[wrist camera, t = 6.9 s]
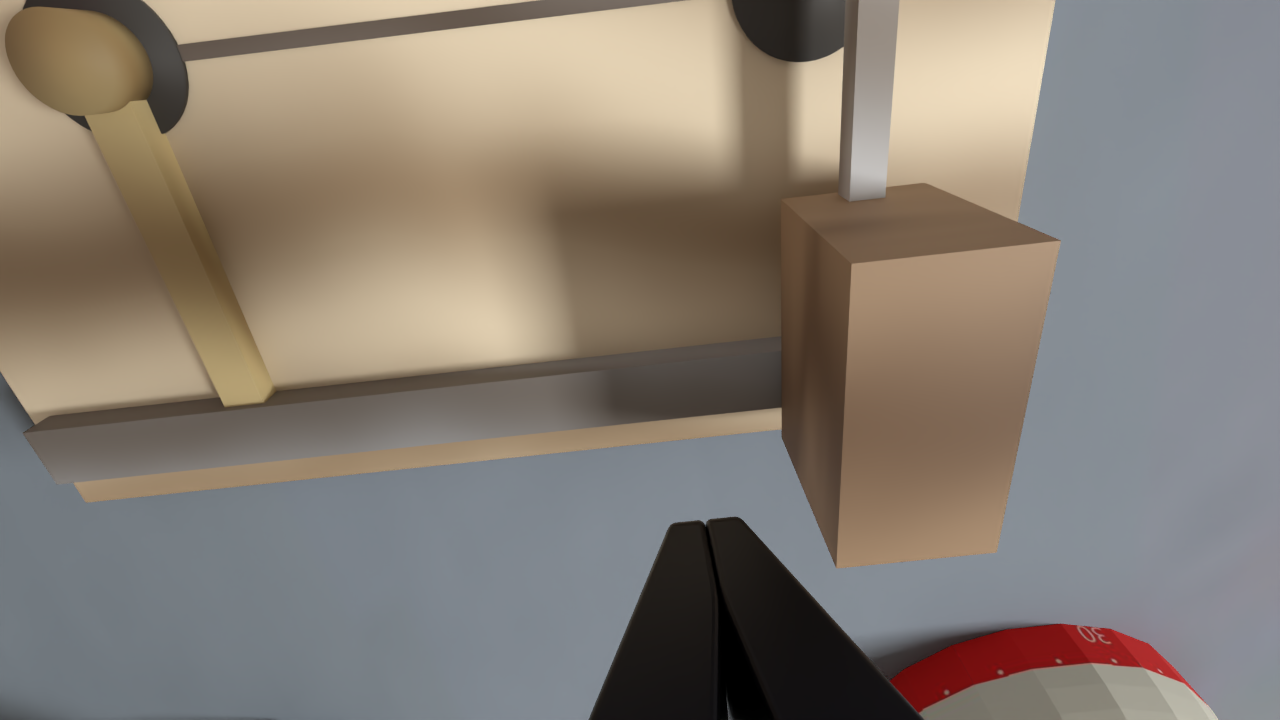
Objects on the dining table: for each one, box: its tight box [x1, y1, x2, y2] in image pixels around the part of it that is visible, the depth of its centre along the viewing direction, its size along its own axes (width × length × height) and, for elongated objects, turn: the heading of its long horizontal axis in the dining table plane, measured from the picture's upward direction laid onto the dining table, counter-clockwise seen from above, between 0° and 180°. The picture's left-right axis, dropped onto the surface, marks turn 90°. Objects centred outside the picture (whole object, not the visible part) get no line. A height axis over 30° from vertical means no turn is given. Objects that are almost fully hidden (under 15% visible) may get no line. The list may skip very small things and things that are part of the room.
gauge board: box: [0, 0, 1055, 502], centre depth 14 cm, size 13×25×2 cm, turn 96°
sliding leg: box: [781, 0, 1061, 568], centre depth 11 cm, size 11×3×5 cm, turn 6°
